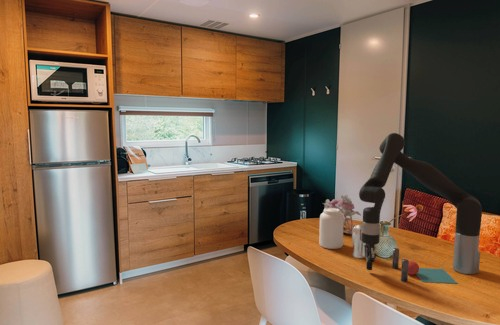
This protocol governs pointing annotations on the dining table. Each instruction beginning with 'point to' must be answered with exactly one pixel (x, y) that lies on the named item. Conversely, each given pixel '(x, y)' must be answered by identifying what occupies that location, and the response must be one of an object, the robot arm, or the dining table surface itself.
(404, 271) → the post
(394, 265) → the post
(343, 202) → the flower
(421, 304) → the dining table surface
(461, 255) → the robot arm
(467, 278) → the dining table surface
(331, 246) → the white jar
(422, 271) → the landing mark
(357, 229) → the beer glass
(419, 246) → the dining table surface
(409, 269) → the ball
